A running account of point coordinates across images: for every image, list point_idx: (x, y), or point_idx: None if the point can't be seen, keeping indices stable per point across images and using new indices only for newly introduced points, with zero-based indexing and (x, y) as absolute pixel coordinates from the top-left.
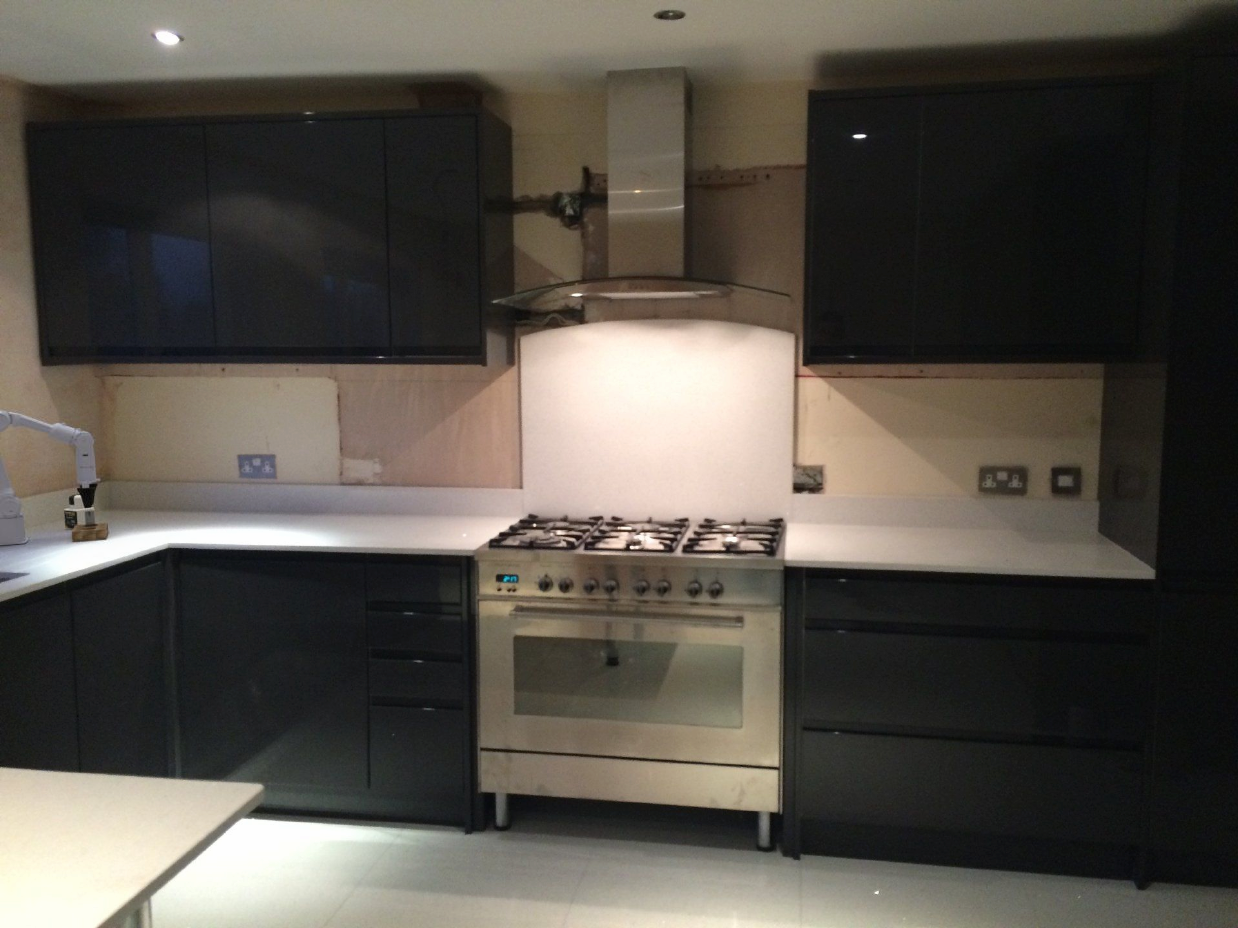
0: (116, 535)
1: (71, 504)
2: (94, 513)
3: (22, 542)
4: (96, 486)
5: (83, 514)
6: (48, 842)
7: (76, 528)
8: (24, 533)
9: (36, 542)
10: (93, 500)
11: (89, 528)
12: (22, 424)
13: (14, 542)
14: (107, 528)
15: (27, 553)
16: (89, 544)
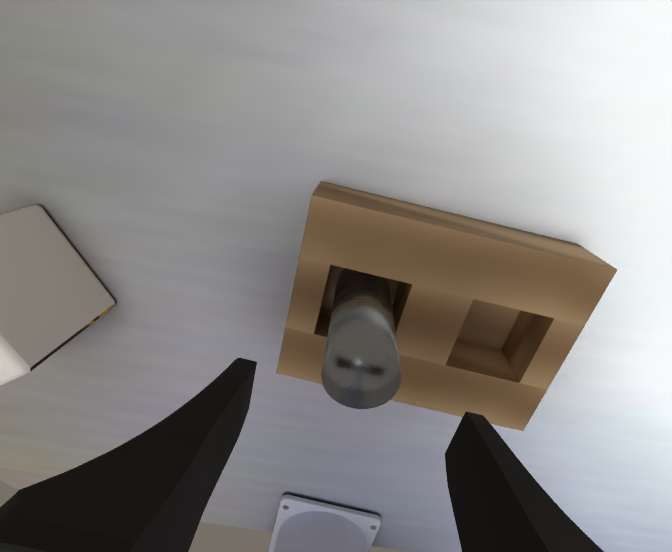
0: (475, 159)
1: None
2: (373, 332)
3: (379, 527)
4: (154, 524)
5: (20, 309)
6: None
7: (417, 391)
8: (338, 548)
9: (375, 483)
10: (242, 385)
11: (456, 332)
12: None
13: (366, 545)
14: (391, 207)
15: (625, 543)
16: (658, 342)
